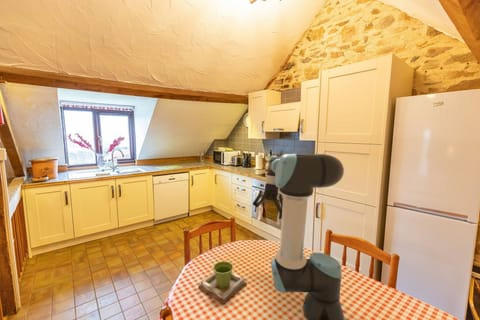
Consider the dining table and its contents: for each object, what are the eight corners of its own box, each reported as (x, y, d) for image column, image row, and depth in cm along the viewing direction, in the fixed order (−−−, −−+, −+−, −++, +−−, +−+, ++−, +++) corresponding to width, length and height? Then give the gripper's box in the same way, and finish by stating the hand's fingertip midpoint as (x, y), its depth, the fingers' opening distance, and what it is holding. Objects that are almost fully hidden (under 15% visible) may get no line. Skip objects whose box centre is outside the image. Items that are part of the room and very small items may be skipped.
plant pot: (233, 291, 101) (233, 273, 100) (212, 291, 100) (211, 273, 99) (233, 277, 110) (233, 261, 109) (214, 277, 110) (214, 261, 109)
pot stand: (246, 284, 107) (246, 278, 106) (223, 304, 94) (223, 297, 94) (221, 271, 117) (221, 265, 116) (198, 287, 104) (198, 281, 104)
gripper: (295, 187, 122) (290, 226, 121) (256, 180, 137) (251, 215, 136) (290, 187, 116) (284, 228, 115) (250, 180, 131) (244, 216, 130)
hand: (266, 221), depth 125 cm, fingers open, 13 cm apart
